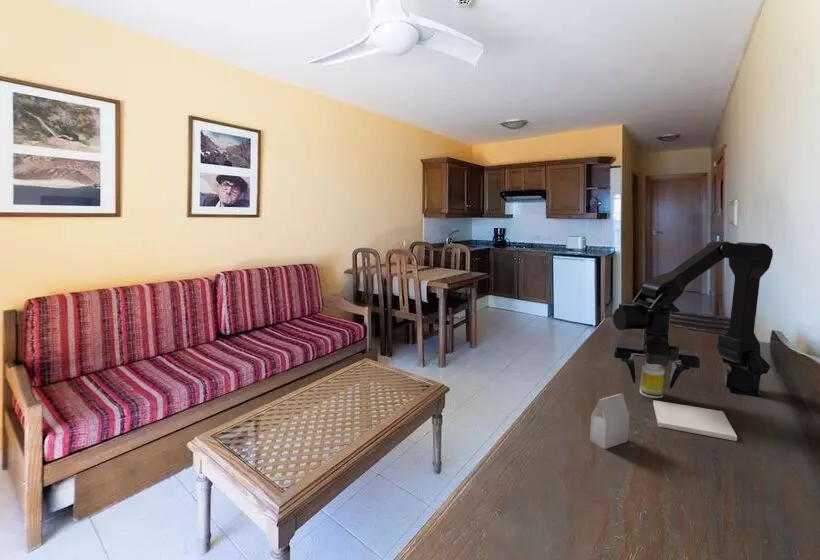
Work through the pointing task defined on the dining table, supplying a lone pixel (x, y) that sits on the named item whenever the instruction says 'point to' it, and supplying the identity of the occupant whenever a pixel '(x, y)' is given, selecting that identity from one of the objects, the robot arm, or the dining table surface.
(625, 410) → the milk carton
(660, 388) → the supplement bottle
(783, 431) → the dining table surface
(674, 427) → the ceramic tile
